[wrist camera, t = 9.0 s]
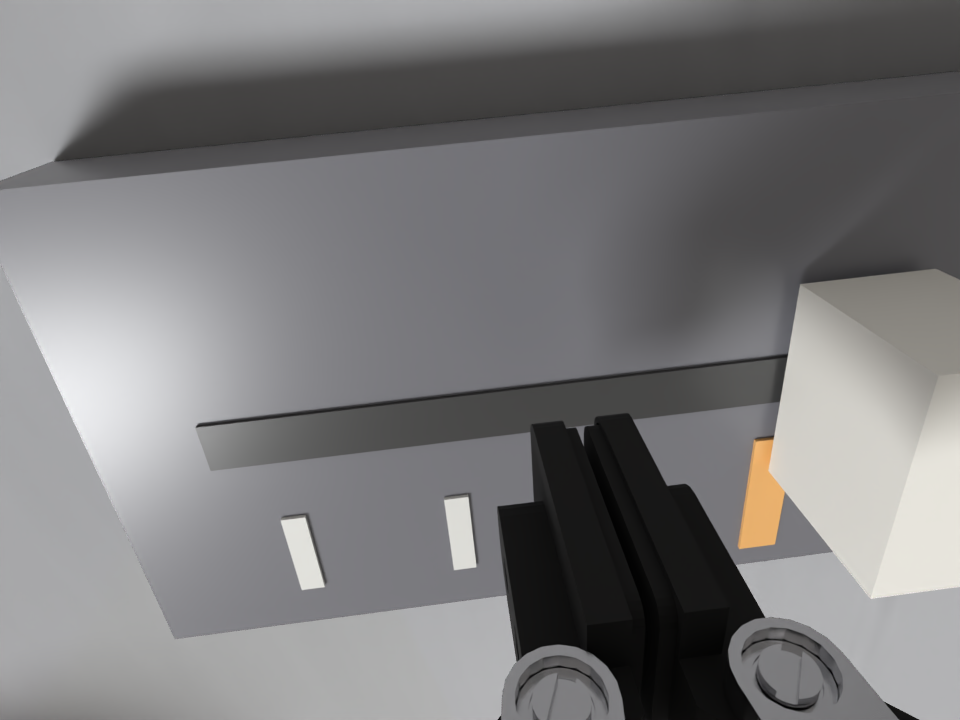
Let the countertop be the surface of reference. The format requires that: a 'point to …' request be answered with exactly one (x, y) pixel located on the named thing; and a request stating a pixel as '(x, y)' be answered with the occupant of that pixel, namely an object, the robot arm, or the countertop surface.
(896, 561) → the fader knob
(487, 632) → the countertop surface
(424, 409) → the fader console
